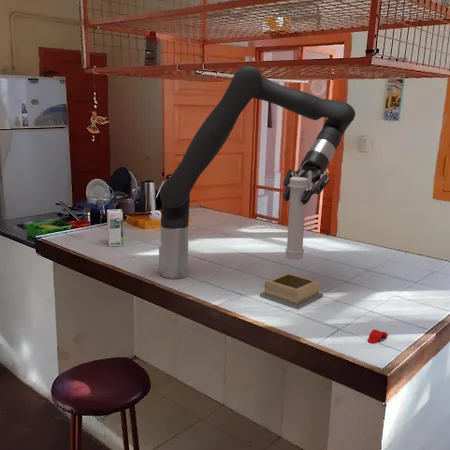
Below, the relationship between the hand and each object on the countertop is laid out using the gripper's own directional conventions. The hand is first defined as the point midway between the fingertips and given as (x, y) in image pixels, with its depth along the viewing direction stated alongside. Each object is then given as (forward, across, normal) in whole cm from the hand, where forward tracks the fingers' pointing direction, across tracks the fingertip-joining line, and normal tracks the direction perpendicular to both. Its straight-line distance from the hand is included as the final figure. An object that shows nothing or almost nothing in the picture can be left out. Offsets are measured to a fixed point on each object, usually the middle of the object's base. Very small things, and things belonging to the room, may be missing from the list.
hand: (294, 201), depth 147 cm
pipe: (+11, 0, +14) cm, 18 cm away
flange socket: (+20, 0, +22) cm, 30 cm away
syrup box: (+23, -84, +20) cm, 89 cm away
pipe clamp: (+26, +32, +17) cm, 45 cm away
